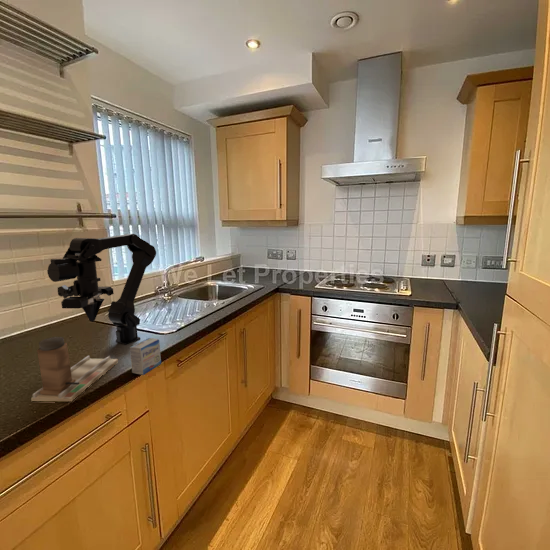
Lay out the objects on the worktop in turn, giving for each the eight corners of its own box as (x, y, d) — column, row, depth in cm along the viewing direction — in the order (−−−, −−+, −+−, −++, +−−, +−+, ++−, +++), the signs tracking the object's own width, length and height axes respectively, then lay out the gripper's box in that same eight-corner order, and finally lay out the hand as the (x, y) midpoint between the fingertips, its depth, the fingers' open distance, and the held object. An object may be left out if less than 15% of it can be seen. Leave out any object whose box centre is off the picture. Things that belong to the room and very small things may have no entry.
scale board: (87, 361, 99) (86, 355, 99) (118, 362, 99) (117, 356, 98) (31, 401, 78) (30, 394, 77) (71, 402, 77) (70, 395, 77)
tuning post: (57, 382, 84) (50, 336, 82) (86, 382, 84) (80, 336, 81) (40, 394, 78) (32, 345, 76) (71, 395, 78) (64, 345, 75)
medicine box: (143, 376, 90) (140, 348, 89) (131, 373, 92) (129, 346, 90) (161, 364, 98) (159, 339, 96) (150, 361, 99) (148, 337, 98)
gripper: (82, 271, 109) (87, 312, 112) (40, 281, 91) (48, 331, 94) (112, 271, 109) (116, 312, 112) (76, 282, 90) (83, 331, 93)
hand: (92, 321), depth 103 cm, fingers closed
